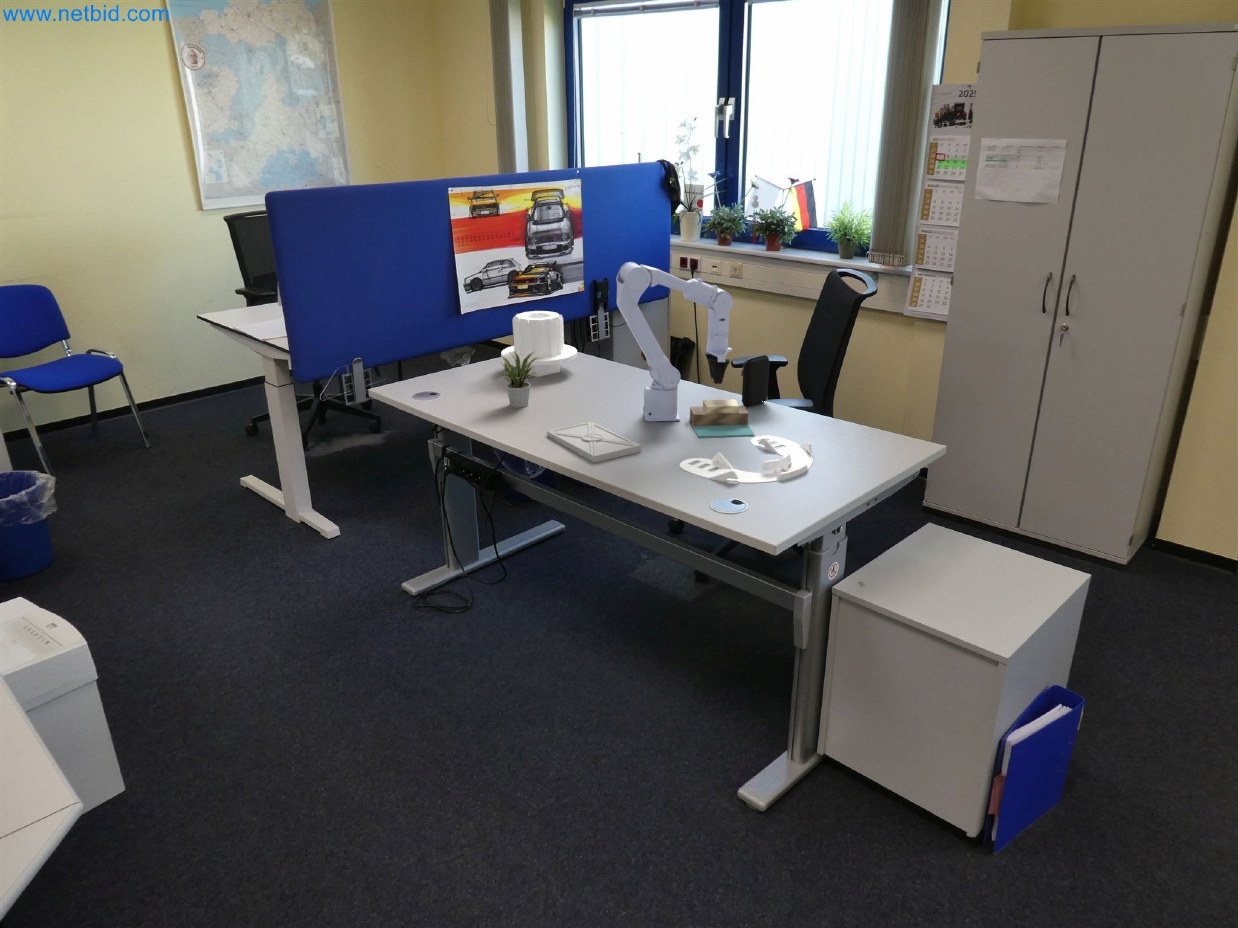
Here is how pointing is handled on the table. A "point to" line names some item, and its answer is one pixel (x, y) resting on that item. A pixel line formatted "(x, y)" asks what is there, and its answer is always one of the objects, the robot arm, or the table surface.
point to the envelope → (594, 441)
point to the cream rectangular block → (720, 406)
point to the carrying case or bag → (755, 381)
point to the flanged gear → (539, 342)
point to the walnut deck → (718, 417)
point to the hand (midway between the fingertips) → (716, 380)
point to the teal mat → (723, 431)
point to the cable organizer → (790, 455)
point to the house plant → (518, 381)
